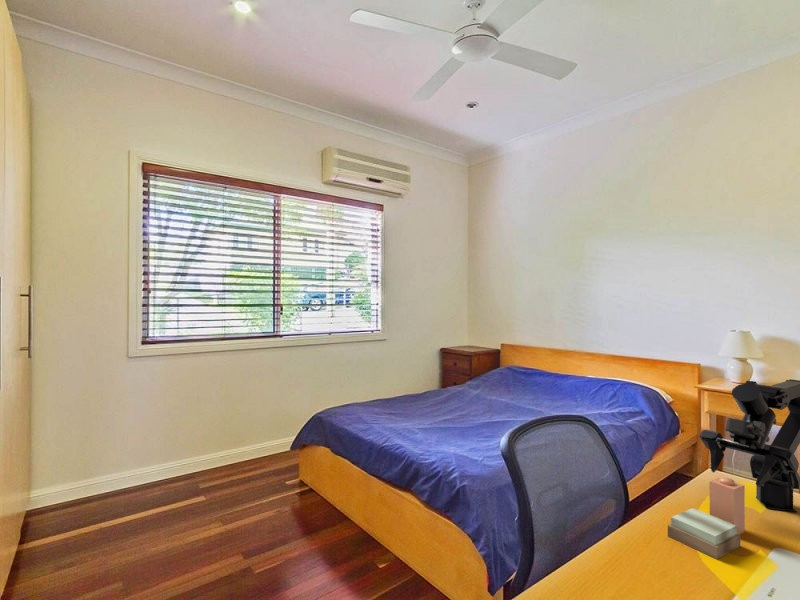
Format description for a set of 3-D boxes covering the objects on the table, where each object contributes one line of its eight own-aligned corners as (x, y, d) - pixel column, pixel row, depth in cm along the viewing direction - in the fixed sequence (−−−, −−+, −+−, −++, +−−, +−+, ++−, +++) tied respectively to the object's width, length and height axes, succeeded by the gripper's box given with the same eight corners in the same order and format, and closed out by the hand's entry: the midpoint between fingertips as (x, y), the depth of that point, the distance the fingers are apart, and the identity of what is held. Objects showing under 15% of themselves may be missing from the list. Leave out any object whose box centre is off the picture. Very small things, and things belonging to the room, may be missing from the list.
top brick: (720, 521, 104) (720, 473, 104) (744, 531, 99) (744, 481, 99) (709, 527, 101) (709, 477, 101) (734, 537, 97) (733, 485, 97)
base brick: (691, 525, 102) (691, 506, 102) (740, 546, 93) (740, 525, 93) (667, 536, 97) (667, 516, 97) (716, 559, 88) (716, 537, 88)
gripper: (702, 398, 113) (679, 446, 107) (793, 415, 96) (771, 472, 91) (718, 424, 116) (696, 471, 111) (807, 444, 100) (787, 501, 95)
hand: (734, 478), depth 102 cm, fingers open, 9 cm apart
